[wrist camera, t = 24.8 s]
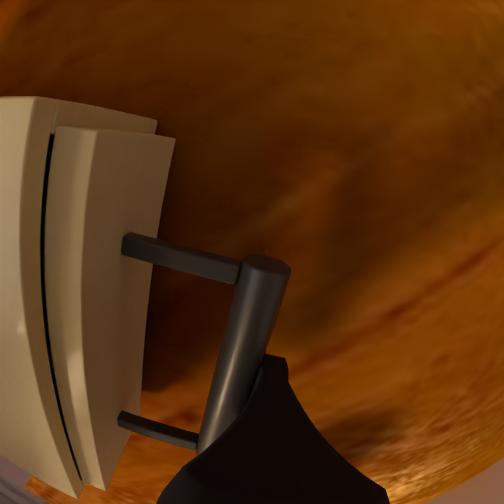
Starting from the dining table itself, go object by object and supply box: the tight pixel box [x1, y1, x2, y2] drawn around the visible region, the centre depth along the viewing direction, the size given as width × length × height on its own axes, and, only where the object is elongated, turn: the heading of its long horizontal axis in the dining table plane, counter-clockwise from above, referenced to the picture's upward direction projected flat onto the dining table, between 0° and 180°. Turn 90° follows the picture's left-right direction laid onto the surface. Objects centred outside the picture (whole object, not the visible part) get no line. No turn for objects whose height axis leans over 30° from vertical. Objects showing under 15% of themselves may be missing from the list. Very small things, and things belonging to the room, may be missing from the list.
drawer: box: [40, 126, 291, 491], centre depth 10 cm, size 18×14×6 cm
